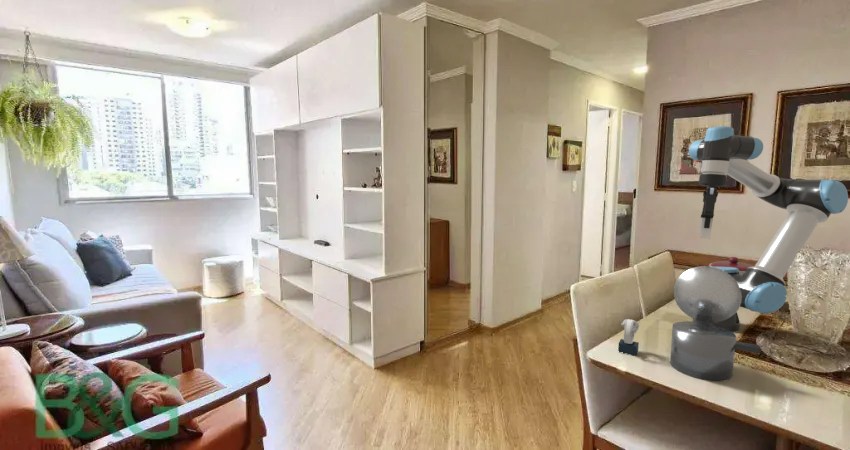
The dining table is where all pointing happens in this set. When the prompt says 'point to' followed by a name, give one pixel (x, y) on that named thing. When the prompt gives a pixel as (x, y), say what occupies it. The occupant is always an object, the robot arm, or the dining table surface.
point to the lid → (707, 294)
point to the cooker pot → (705, 350)
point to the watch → (629, 338)
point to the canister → (732, 264)
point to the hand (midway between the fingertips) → (704, 236)
